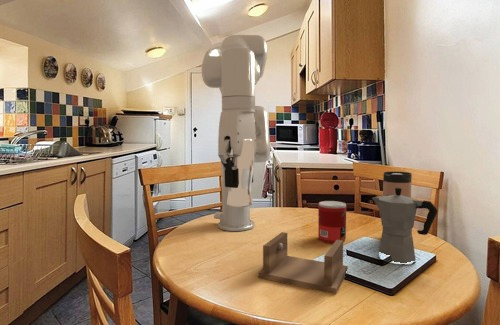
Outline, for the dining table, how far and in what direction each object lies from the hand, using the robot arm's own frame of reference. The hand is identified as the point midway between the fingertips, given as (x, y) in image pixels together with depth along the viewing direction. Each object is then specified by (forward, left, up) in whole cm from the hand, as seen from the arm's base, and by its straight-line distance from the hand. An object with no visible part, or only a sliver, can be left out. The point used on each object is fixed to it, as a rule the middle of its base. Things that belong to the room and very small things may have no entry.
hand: (239, 184), depth 73 cm
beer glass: (0, 0, -5) cm, 5 cm away
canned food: (+14, +31, -20) cm, 39 cm away
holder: (+14, +4, -20) cm, 25 cm away
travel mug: (+31, +39, -20) cm, 54 cm away
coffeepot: (+33, +23, -20) cm, 45 cm away
